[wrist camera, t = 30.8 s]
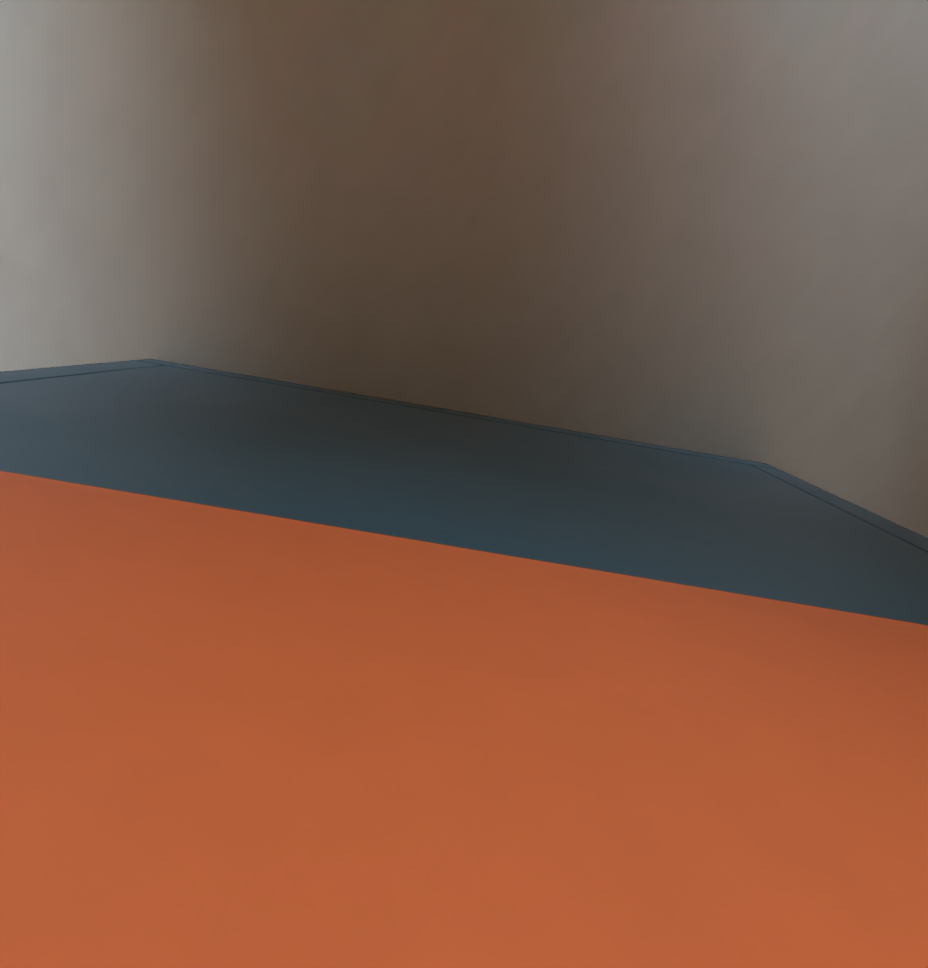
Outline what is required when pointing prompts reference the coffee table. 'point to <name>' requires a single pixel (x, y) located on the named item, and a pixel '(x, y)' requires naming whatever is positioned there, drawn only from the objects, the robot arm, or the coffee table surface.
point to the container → (458, 482)
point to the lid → (435, 755)
